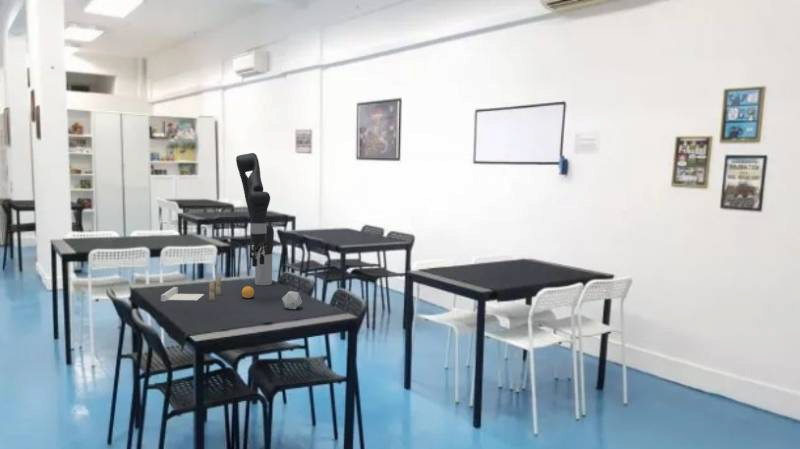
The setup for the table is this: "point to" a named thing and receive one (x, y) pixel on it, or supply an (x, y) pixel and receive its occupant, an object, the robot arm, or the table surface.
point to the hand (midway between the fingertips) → (258, 265)
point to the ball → (247, 292)
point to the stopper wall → (169, 294)
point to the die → (292, 300)
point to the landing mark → (186, 297)
